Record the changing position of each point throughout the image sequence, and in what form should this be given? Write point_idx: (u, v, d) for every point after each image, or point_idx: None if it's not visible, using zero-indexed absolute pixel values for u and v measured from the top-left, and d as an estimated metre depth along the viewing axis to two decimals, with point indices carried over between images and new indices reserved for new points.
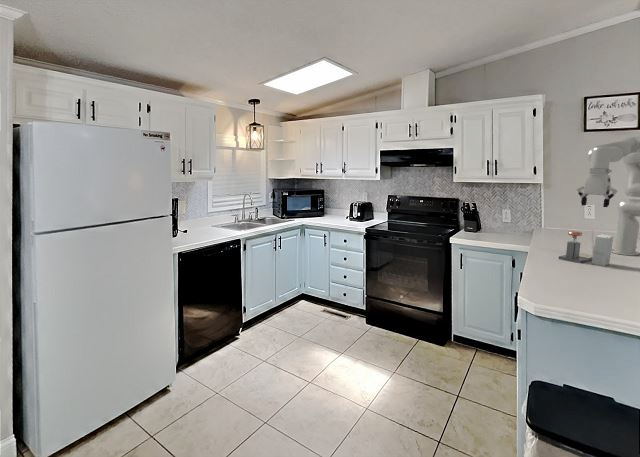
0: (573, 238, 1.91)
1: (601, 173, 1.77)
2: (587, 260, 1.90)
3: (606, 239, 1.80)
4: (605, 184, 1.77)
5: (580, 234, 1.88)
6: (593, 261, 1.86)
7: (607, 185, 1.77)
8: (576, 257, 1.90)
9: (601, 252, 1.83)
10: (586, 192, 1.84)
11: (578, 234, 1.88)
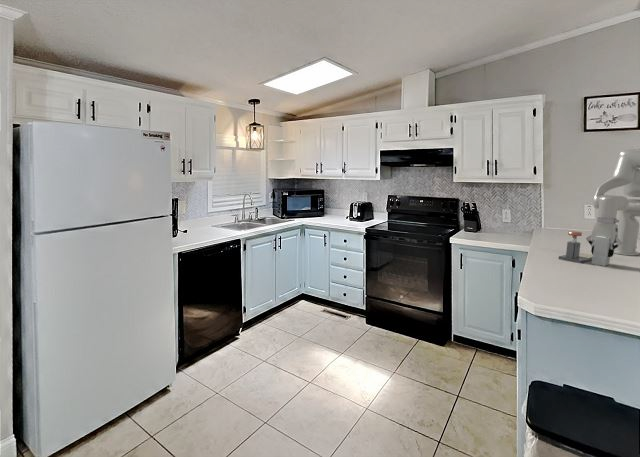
0: (573, 238, 1.91)
1: (609, 223, 1.79)
2: (587, 260, 1.90)
3: (606, 239, 1.80)
4: (613, 234, 1.79)
5: (580, 234, 1.88)
6: (593, 261, 1.86)
7: (615, 235, 1.79)
8: (576, 257, 1.90)
9: (600, 252, 1.83)
10: (594, 240, 1.86)
11: (578, 234, 1.88)
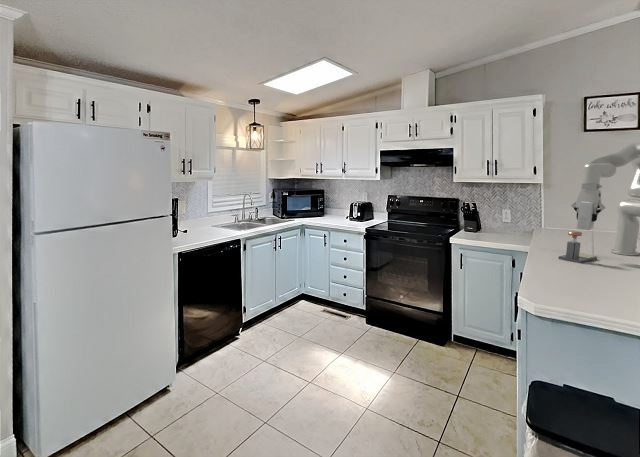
0: (573, 238, 1.91)
1: (592, 188, 1.88)
2: (587, 260, 1.90)
3: (589, 204, 1.89)
4: (596, 199, 1.88)
5: (580, 234, 1.88)
6: (578, 226, 1.95)
7: (598, 200, 1.88)
8: (576, 257, 1.90)
9: (585, 216, 1.92)
10: (578, 206, 1.95)
11: (578, 234, 1.88)
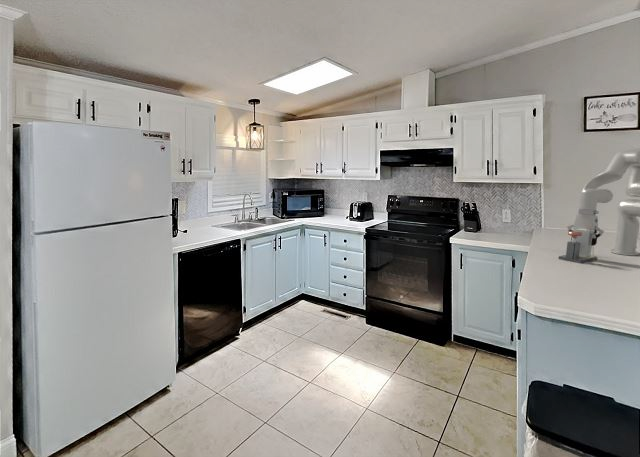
0: (573, 238, 1.91)
1: (589, 214, 1.91)
2: (587, 260, 1.90)
3: (586, 231, 1.92)
4: (593, 224, 1.90)
5: (580, 234, 1.88)
6: None
7: (595, 225, 1.90)
8: (576, 257, 1.90)
9: (581, 243, 1.94)
10: (575, 230, 1.98)
11: (578, 234, 1.88)
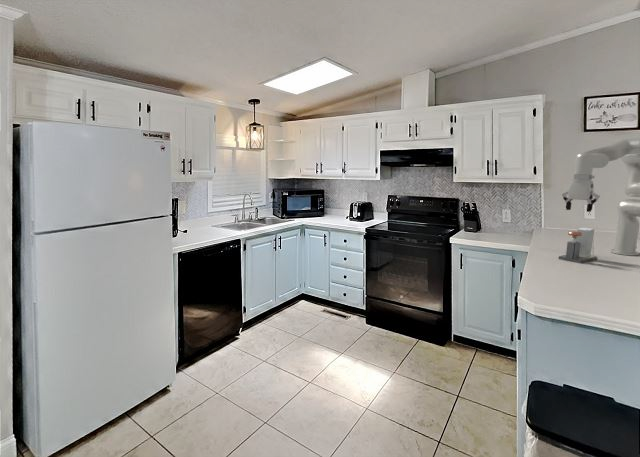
0: (573, 238, 1.91)
1: (584, 179, 1.83)
2: (587, 260, 1.90)
3: (586, 231, 1.92)
4: (588, 189, 1.83)
5: (580, 234, 1.88)
6: None
7: (590, 190, 1.83)
8: (576, 257, 1.90)
9: (581, 243, 1.94)
10: (570, 197, 1.90)
11: (578, 234, 1.88)
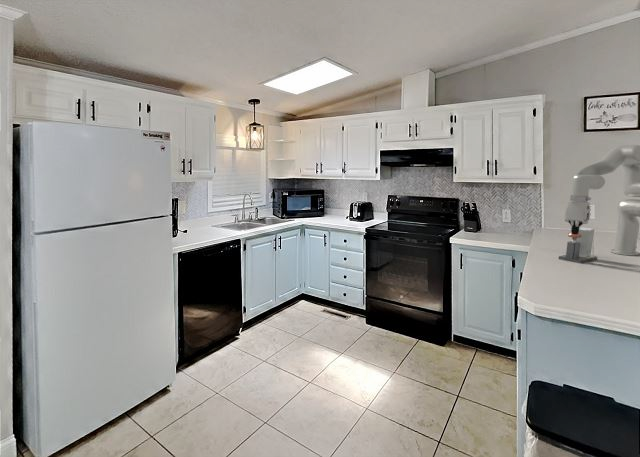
0: (573, 240, 1.91)
1: (581, 201, 1.85)
2: (587, 260, 1.90)
3: (586, 231, 1.92)
4: (585, 211, 1.84)
5: (580, 236, 1.88)
6: None
7: (586, 212, 1.84)
8: (576, 257, 1.90)
9: (581, 243, 1.94)
10: (567, 218, 1.92)
11: (578, 236, 1.88)
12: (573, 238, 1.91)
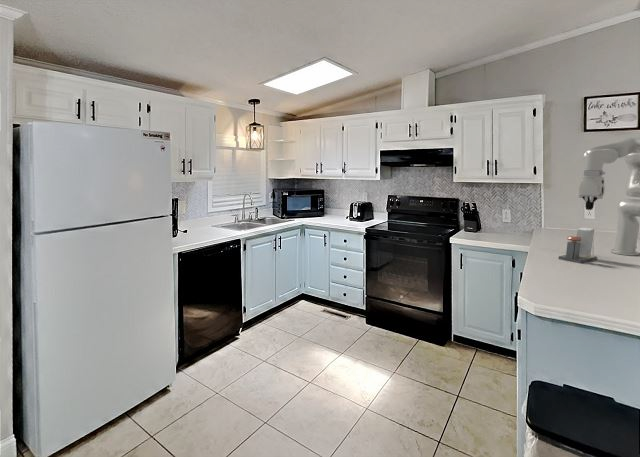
0: None
1: (595, 175, 1.82)
2: (587, 260, 1.90)
3: (586, 231, 1.92)
4: (599, 186, 1.81)
5: (579, 239, 1.89)
6: None
7: (601, 187, 1.81)
8: (576, 257, 1.90)
9: (581, 243, 1.94)
10: (581, 193, 1.89)
11: (577, 239, 1.88)
12: (573, 241, 1.91)
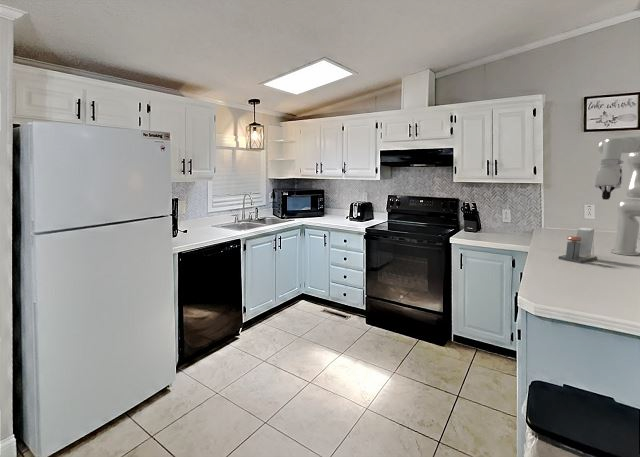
0: None
1: (613, 164, 1.79)
2: (587, 260, 1.90)
3: (586, 231, 1.92)
4: (617, 175, 1.79)
5: (579, 239, 1.89)
6: None
7: (619, 176, 1.79)
8: (576, 257, 1.90)
9: (581, 243, 1.94)
10: (598, 183, 1.86)
11: (577, 239, 1.88)
12: (573, 241, 1.91)
